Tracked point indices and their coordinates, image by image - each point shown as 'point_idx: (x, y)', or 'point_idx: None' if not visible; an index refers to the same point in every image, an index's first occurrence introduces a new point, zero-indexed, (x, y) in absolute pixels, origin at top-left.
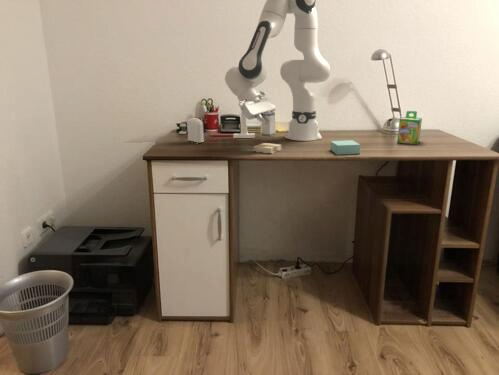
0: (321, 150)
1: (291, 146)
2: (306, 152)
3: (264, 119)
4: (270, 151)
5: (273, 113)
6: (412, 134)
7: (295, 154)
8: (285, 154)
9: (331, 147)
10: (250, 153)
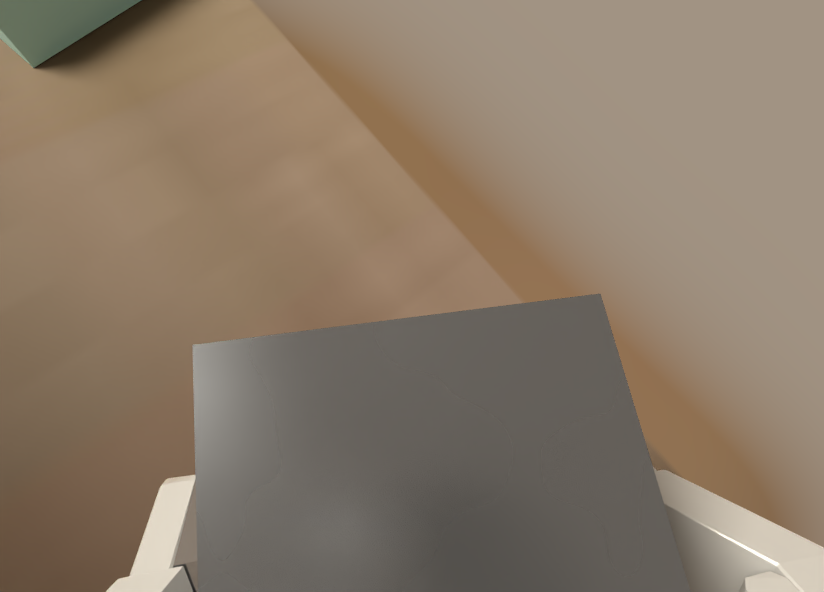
0: (91, 111)
1: (46, 424)
2: (232, 163)
3: None
4: None
5: (319, 336)
6: None
7: (351, 190)
8: (402, 250)
9: (35, 36)
10: None
